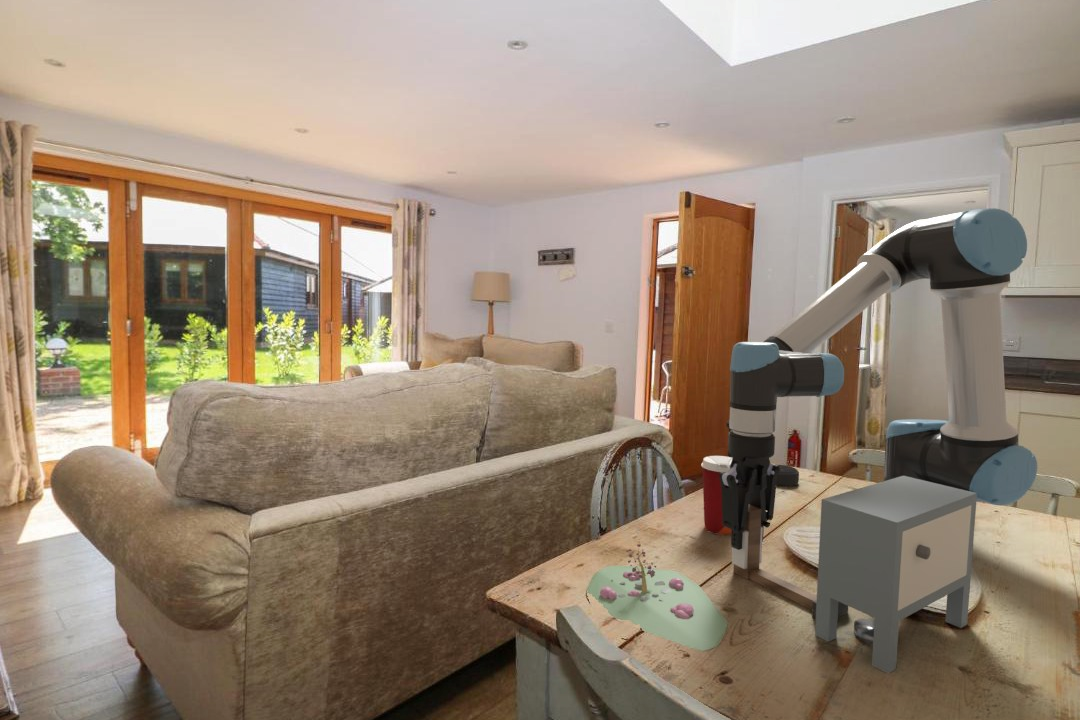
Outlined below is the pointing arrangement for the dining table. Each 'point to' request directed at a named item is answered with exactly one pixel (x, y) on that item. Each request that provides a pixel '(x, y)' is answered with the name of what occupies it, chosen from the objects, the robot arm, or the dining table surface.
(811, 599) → the pusher tool
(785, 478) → the smart speaker
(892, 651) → the cabinet
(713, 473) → the coffee cup
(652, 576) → the miniature garden model
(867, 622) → the silver flat dome
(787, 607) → the dining table surface
